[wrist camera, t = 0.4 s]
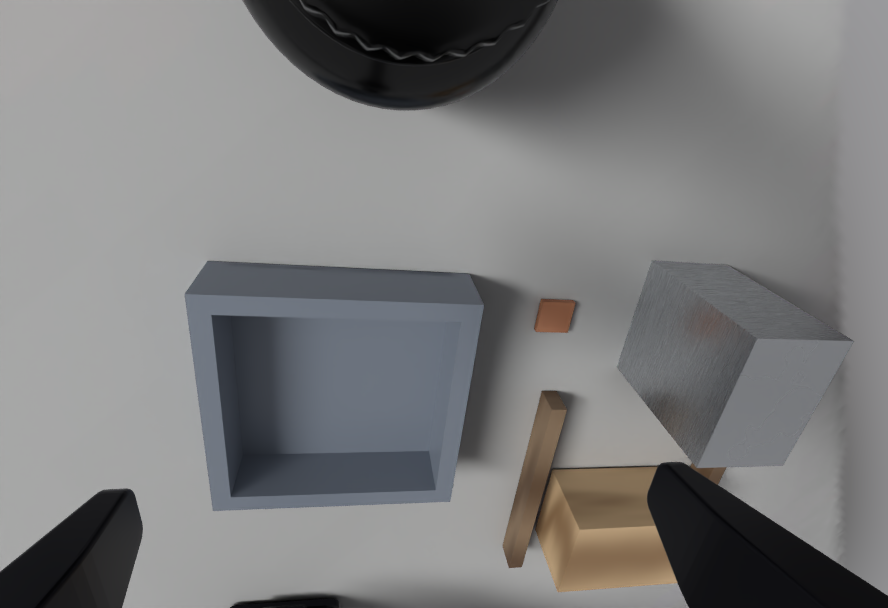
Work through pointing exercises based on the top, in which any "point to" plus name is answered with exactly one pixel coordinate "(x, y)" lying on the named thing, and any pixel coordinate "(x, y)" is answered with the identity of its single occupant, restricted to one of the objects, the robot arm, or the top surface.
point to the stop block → (727, 363)
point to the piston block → (601, 530)
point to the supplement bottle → (402, 45)
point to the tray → (331, 382)
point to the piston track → (547, 445)
